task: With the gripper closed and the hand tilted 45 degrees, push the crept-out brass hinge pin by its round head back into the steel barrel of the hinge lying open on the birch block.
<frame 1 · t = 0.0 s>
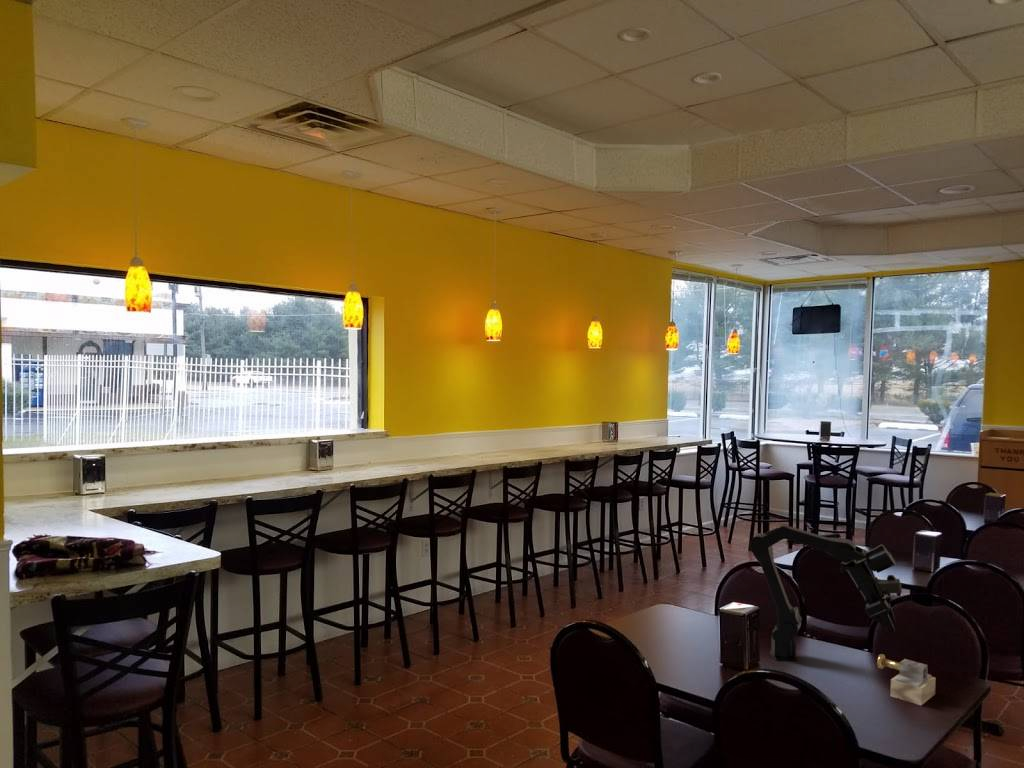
hand: (894, 627, 227), 15 cm above the table, tool tilted 35°, fingers open, 9 cm apart
hinge block: (905, 692, 216), on the table
pin: (896, 665, 218), point 7 cm above the table, slide at 0.0 cm
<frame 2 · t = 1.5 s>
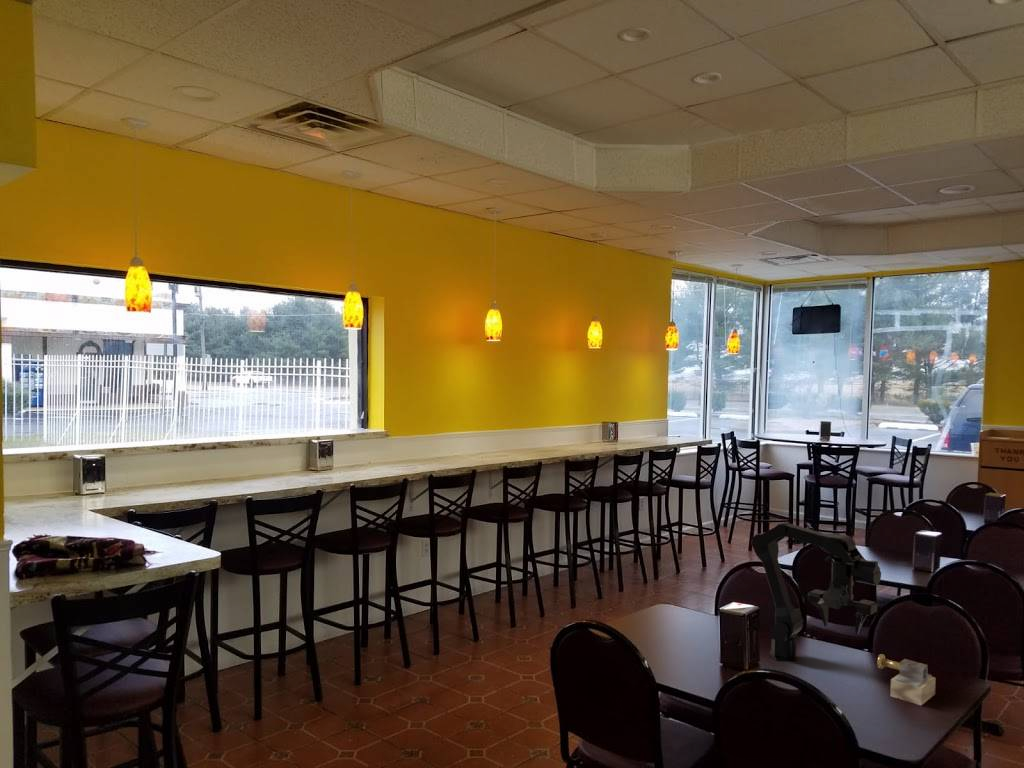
hand: (841, 630, 229), 13 cm above the table, tool pointing down, fingers open, 9 cm apart
nothing on the table moved.
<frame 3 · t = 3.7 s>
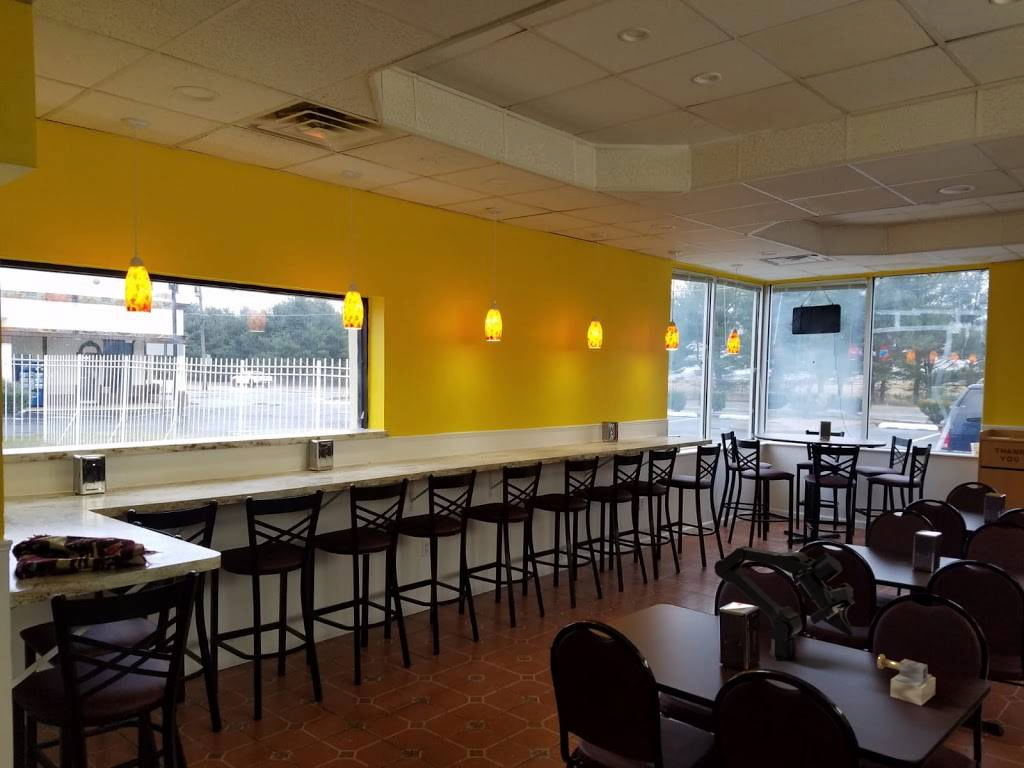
hand: (852, 635, 227), 12 cm above the table, tool tilted 45°, fingers closed
nothing on the table moved.
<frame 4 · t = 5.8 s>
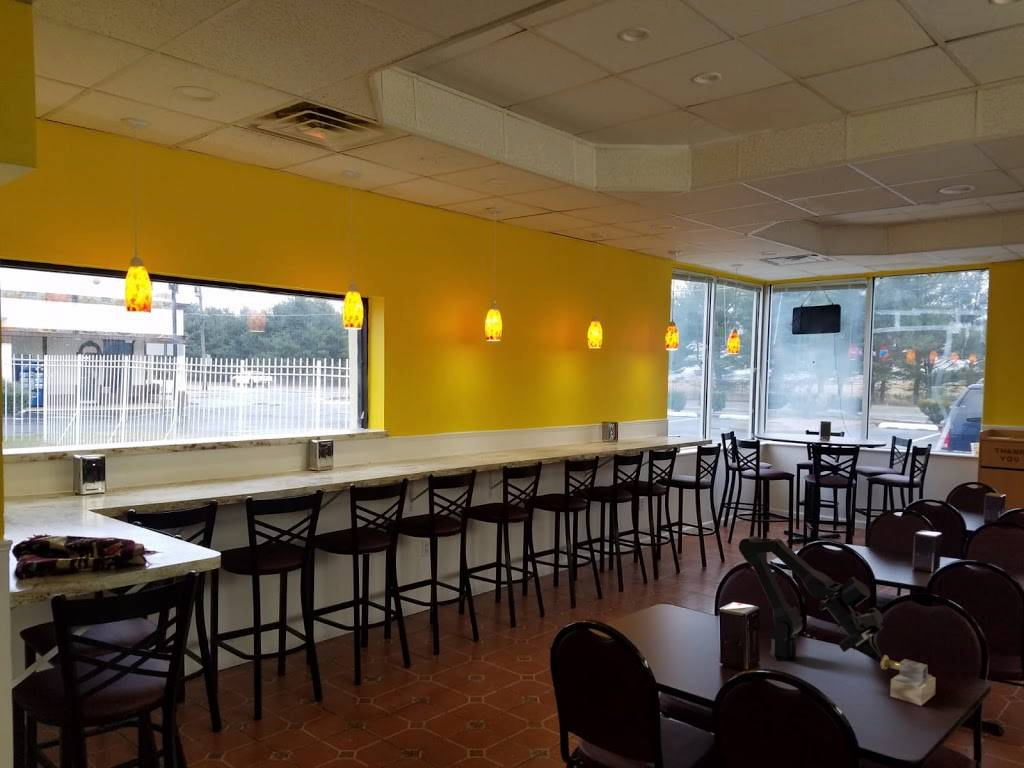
hand: (882, 662, 220), 7 cm above the table, tool tilted 45°, fingers closed, pressing on pin
pin: (899, 666, 217), point 7 cm above the table, slide at 0.9 cm, touching gripper
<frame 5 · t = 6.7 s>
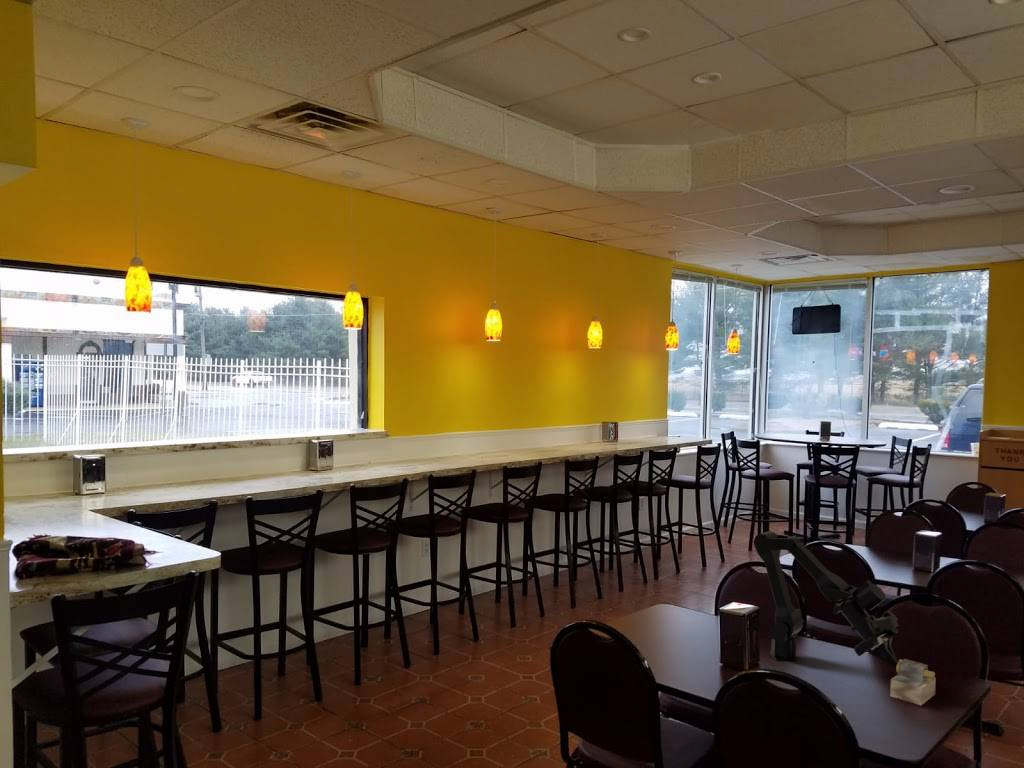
hand: (897, 666, 217), 7 cm above the table, tool tilted 45°, fingers closed, pressing on pin
pin: (915, 671, 214), point 7 cm above the table, slide at 5.2 cm, touching gripper
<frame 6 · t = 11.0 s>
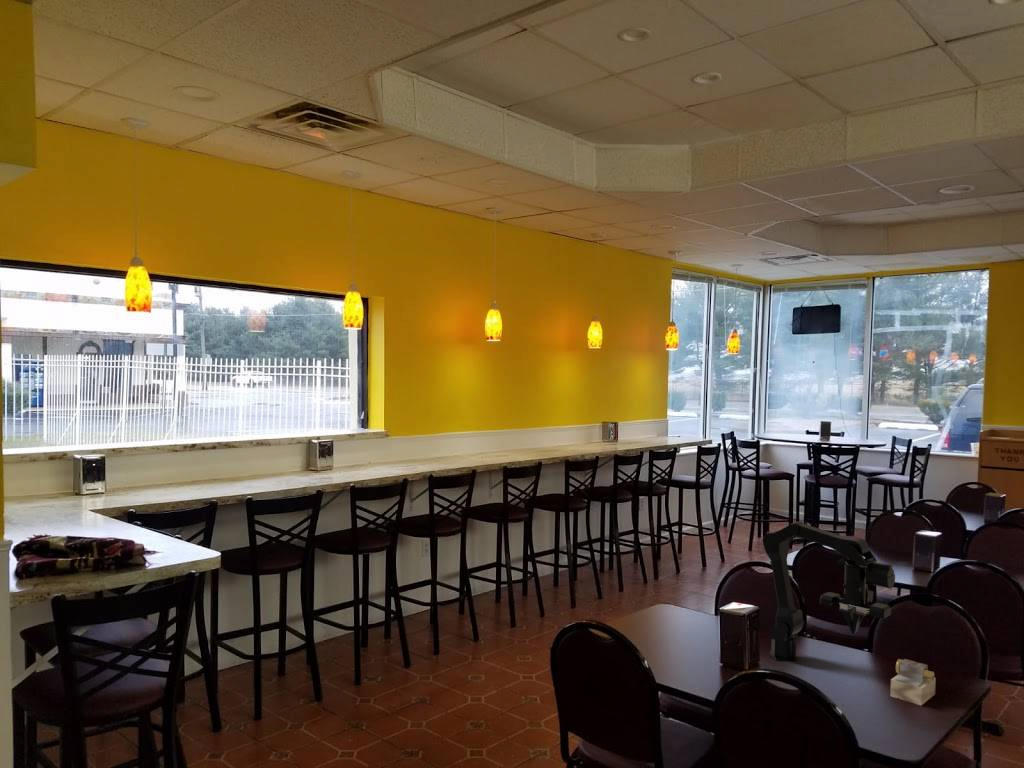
hand: (853, 633, 226), 13 cm above the table, tool pointing down, fingers closed
pin: (915, 670, 214), point 7 cm above the table, slide at 5.0 cm
at the end: pin slide at 5.0 cm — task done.
